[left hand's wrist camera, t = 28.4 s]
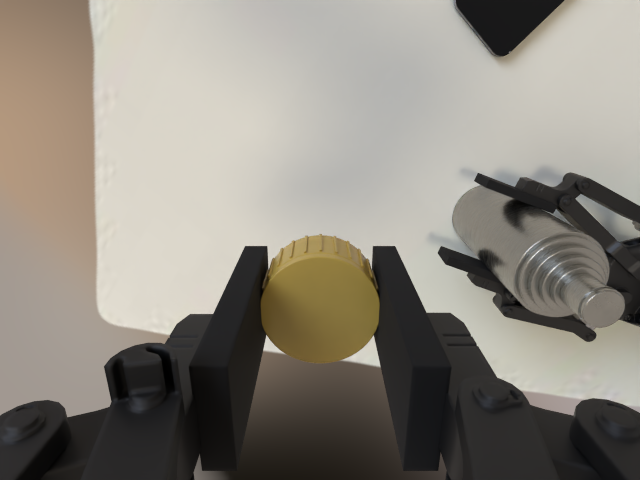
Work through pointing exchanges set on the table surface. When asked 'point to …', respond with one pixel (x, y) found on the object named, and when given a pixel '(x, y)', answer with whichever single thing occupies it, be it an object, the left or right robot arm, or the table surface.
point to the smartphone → (504, 20)
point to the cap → (320, 300)
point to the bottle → (539, 257)
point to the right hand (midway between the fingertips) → (462, 218)
